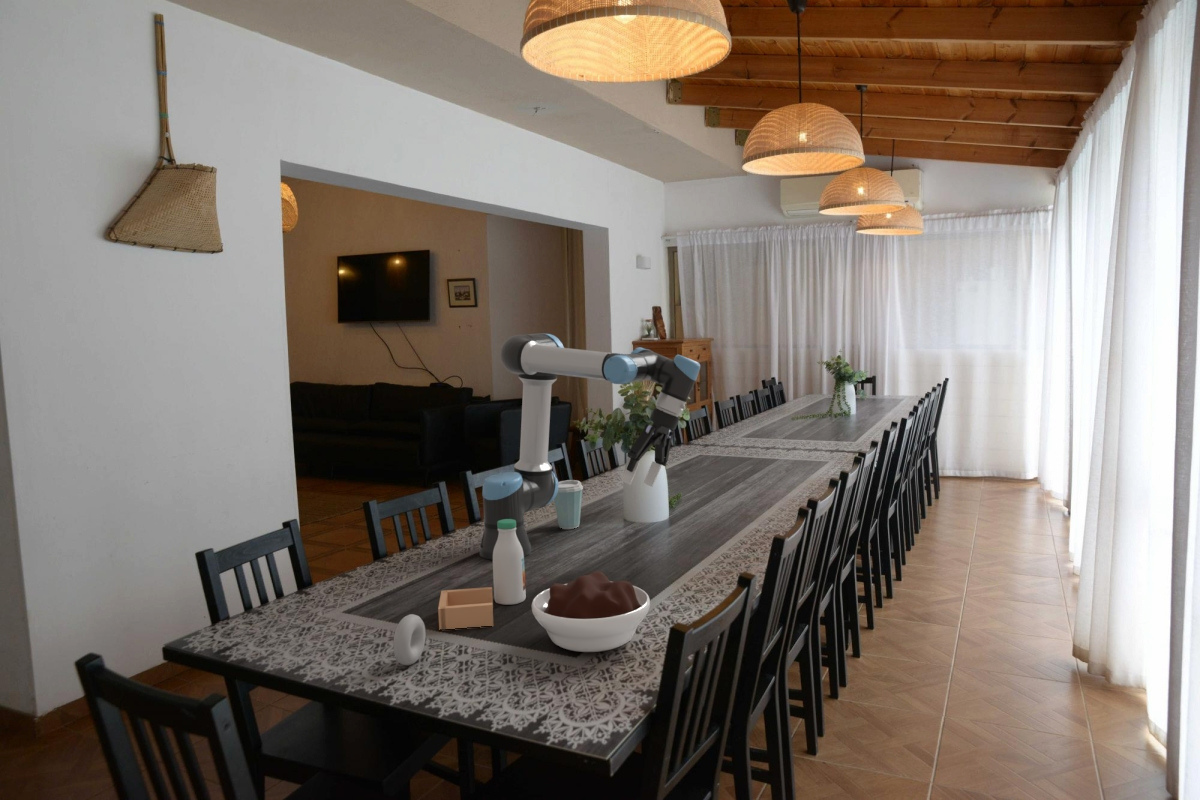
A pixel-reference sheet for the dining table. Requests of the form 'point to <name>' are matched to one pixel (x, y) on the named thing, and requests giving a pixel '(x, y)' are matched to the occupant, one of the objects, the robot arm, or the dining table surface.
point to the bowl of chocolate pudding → (591, 612)
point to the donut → (409, 639)
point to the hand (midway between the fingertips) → (637, 483)
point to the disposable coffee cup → (568, 503)
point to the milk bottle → (508, 565)
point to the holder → (466, 608)
